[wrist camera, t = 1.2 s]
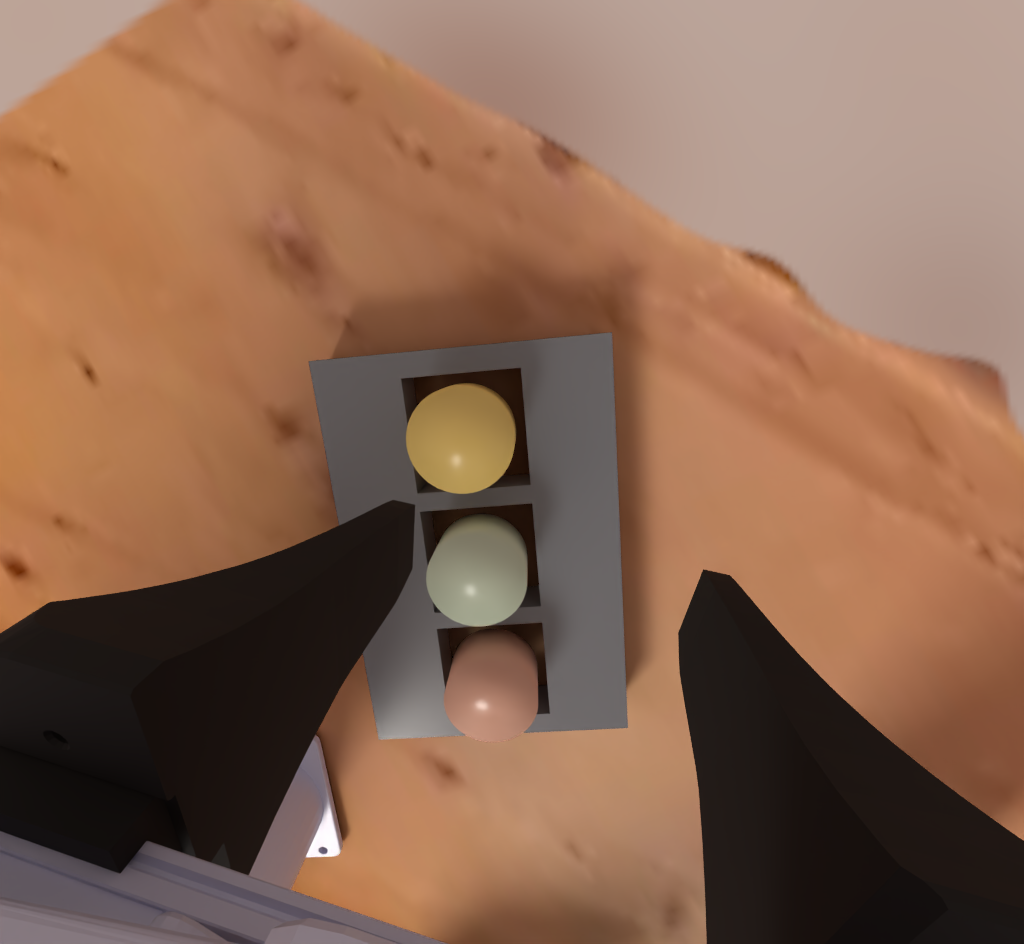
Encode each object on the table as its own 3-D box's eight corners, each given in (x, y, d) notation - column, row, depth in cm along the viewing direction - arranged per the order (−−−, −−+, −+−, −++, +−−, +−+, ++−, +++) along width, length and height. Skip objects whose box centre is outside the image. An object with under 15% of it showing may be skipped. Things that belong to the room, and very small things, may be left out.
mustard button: (427, 481, 20) (413, 497, 18) (414, 387, 19) (398, 391, 17) (520, 474, 20) (518, 489, 18) (512, 378, 19) (509, 381, 17)
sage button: (443, 599, 22) (433, 629, 19) (432, 516, 21) (419, 537, 18) (531, 594, 21) (531, 623, 19) (523, 510, 20) (522, 529, 18)
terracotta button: (457, 705, 23) (449, 744, 21) (447, 631, 22) (437, 663, 20) (540, 700, 23) (541, 740, 20) (534, 625, 22) (534, 658, 19)
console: (390, 709, 25) (378, 739, 23) (329, 360, 21) (308, 361, 19) (620, 698, 24) (627, 727, 22) (604, 334, 20) (612, 332, 18)
